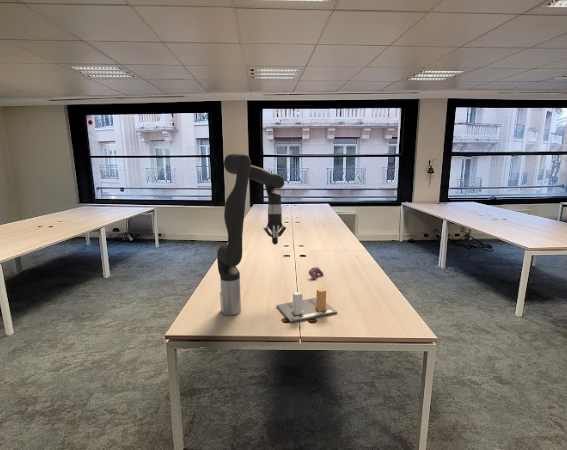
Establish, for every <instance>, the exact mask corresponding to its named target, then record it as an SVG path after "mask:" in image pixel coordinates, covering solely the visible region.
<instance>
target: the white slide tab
mask: <svg viewBox="0 0 567 450" xmlns="http://www.w3.org/2000/svg"><path fill="white" fill-rule="evenodd" d="M302 300H303V293H302V292H301V291H295V292H292V302H293V309H292V312H293V313H294V314H295V315H300V314H303V311H302Z"/></svg>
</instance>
